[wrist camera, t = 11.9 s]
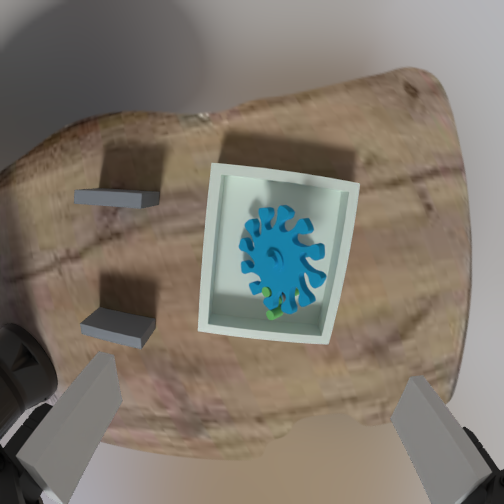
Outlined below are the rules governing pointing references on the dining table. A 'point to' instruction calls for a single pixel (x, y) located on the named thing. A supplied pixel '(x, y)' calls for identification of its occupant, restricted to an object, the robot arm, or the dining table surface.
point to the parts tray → (233, 230)
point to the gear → (281, 261)
